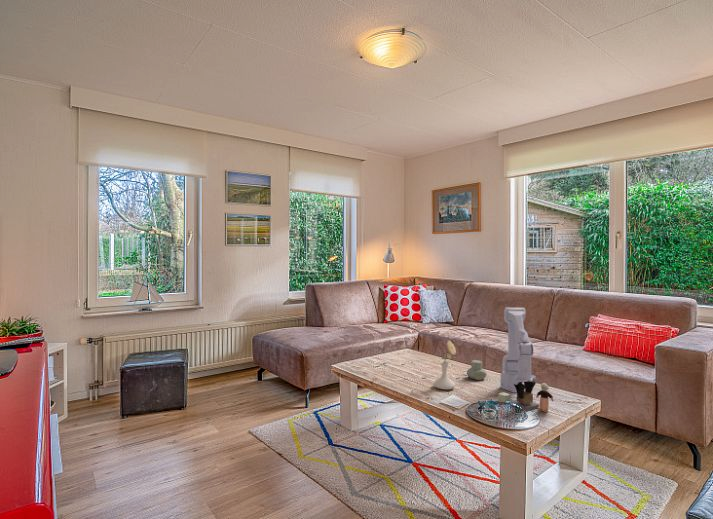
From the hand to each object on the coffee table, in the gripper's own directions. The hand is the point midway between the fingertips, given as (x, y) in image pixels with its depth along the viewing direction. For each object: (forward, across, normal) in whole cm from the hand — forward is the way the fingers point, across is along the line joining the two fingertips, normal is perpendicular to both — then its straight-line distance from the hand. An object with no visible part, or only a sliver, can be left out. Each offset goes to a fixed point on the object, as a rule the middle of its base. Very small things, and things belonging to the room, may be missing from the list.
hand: (524, 397), depth 189 cm
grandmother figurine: (+4, +3, -8) cm, 10 cm away
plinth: (+4, 0, 0) cm, 4 cm away
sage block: (+4, -4, +8) cm, 10 cm away
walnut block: (+2, 0, 0) cm, 2 cm away
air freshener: (+5, +14, +42) cm, 44 cm away
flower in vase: (+4, -14, +38) cm, 41 cm away
